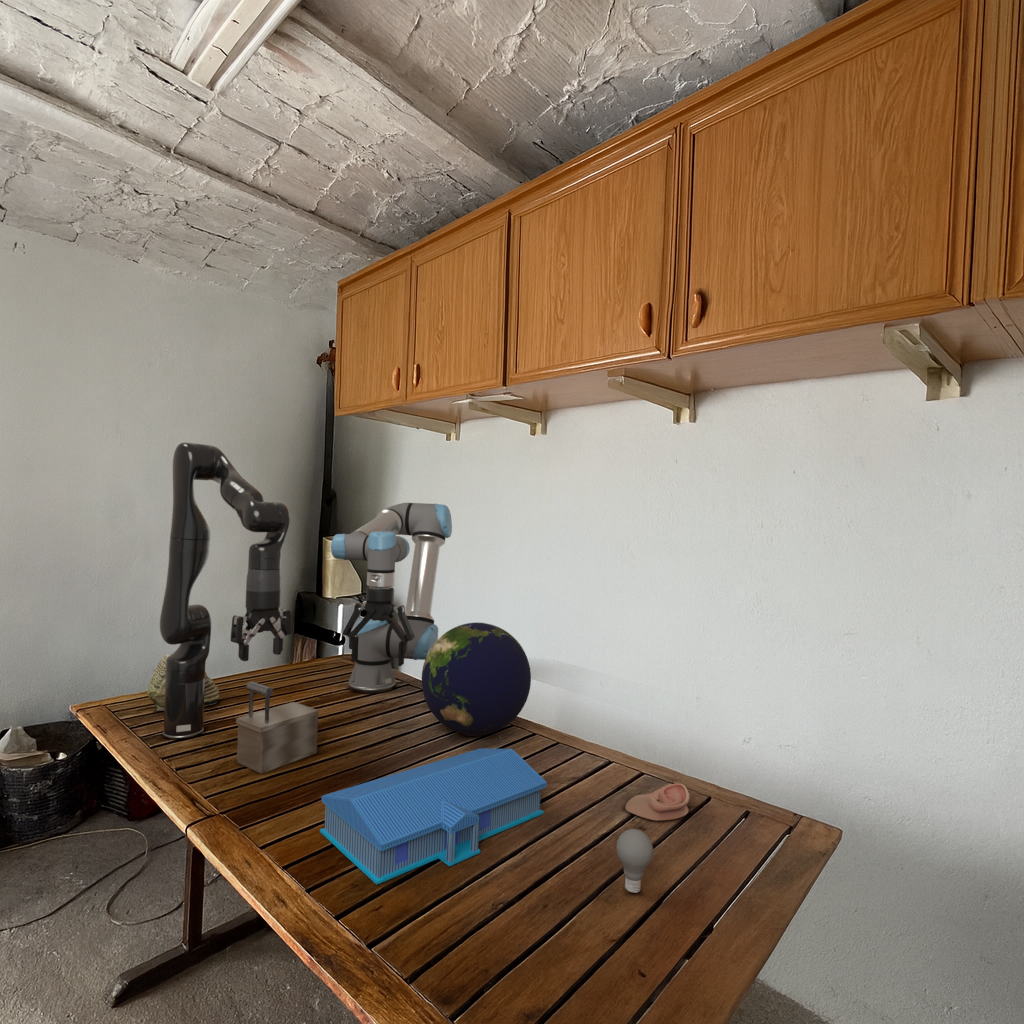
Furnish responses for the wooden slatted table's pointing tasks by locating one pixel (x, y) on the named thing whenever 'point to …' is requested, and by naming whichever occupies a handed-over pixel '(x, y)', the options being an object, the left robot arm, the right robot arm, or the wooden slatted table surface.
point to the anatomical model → (661, 803)
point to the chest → (277, 745)
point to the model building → (431, 811)
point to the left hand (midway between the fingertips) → (261, 657)
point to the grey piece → (272, 711)
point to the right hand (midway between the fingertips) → (377, 662)
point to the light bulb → (634, 857)
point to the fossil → (158, 687)
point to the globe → (476, 679)
